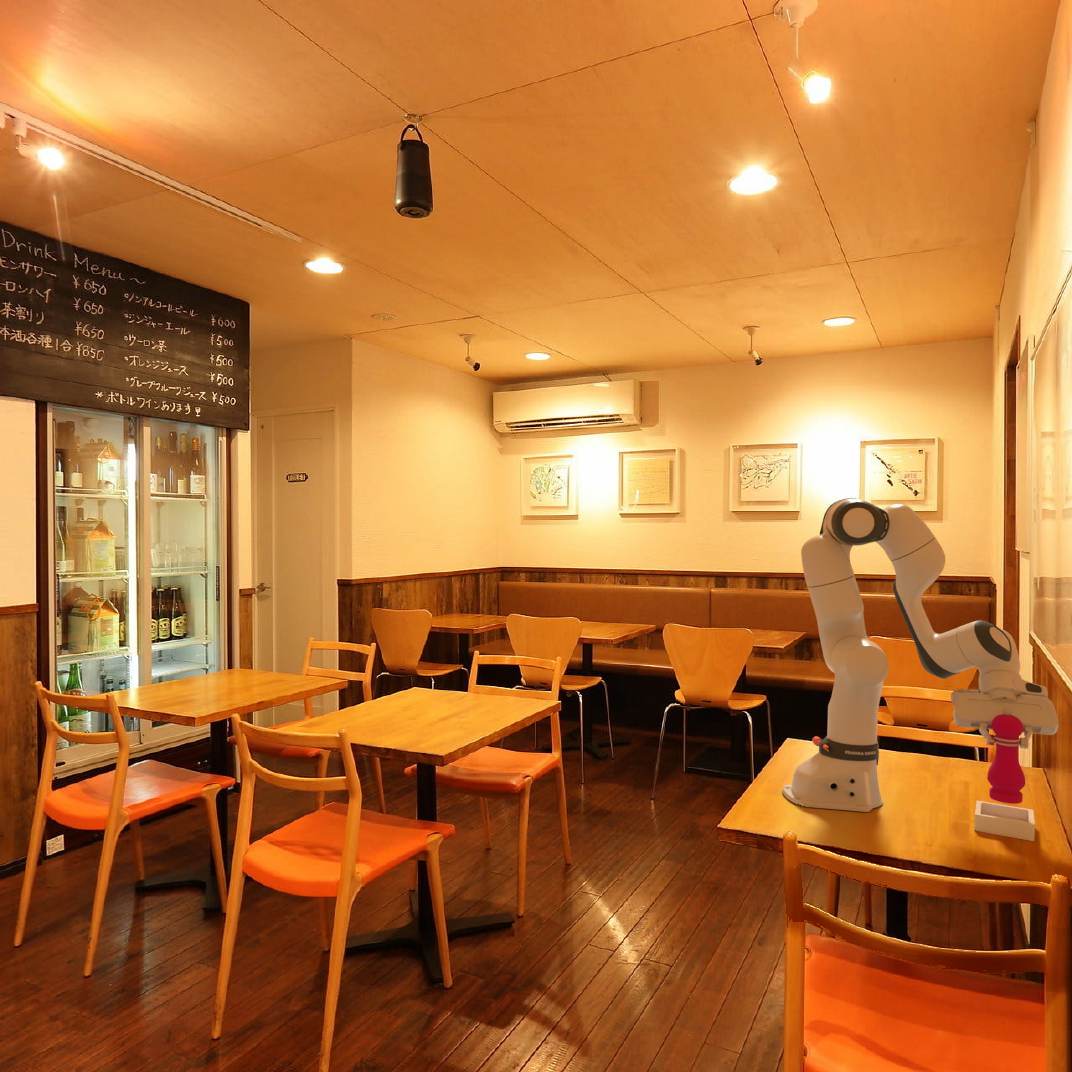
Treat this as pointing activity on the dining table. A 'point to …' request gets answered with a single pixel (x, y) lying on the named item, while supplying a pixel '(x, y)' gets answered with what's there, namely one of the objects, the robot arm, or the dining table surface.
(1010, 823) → the mill holder
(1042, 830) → the dining table surface
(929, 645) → the robot arm
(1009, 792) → the pepper mill
